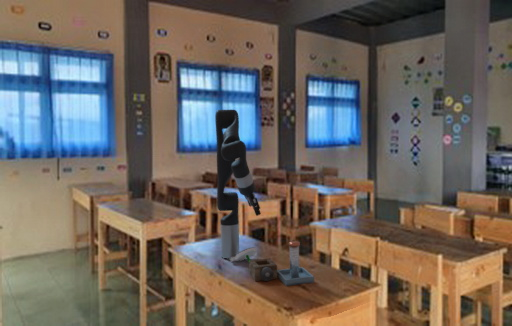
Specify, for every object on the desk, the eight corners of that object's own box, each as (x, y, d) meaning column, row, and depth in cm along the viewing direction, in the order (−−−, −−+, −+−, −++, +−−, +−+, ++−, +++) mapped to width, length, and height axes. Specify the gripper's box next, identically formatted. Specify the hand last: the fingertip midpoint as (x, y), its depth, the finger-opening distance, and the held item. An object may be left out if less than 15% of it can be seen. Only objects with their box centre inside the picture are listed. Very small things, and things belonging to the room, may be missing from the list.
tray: (276, 275, 182) (276, 270, 182) (302, 272, 185) (302, 267, 185) (285, 286, 170) (285, 280, 170) (314, 282, 173) (313, 276, 173)
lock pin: (287, 275, 179) (286, 241, 178) (297, 274, 180) (297, 240, 179) (291, 279, 174) (290, 244, 174) (301, 278, 176) (301, 243, 175)
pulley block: (249, 273, 186) (248, 260, 185) (270, 271, 188) (270, 258, 188) (256, 283, 174) (256, 269, 173) (279, 280, 176) (278, 266, 176)
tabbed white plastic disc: (252, 254, 210) (258, 239, 205) (260, 266, 205) (266, 250, 200) (227, 260, 202) (233, 244, 196) (235, 273, 196) (241, 256, 191)
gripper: (258, 185, 174) (268, 214, 183) (246, 171, 186) (256, 199, 195) (242, 193, 173) (253, 221, 181) (232, 178, 185) (242, 205, 193)
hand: (254, 210), depth 188 cm, fingers open, 8 cm apart
